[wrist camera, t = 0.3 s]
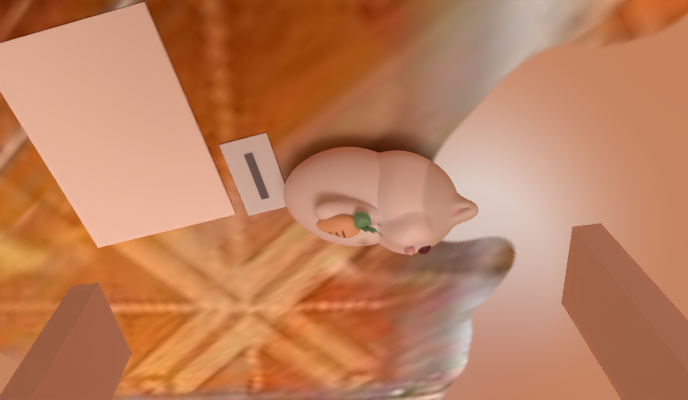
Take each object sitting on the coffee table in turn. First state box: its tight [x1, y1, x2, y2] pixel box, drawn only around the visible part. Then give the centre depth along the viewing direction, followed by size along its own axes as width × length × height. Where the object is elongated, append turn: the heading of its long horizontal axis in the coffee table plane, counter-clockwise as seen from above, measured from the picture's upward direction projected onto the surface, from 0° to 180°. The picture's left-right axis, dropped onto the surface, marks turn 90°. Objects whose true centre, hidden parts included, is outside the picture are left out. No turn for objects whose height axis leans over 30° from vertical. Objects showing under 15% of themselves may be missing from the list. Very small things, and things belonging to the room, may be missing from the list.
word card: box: [219, 132, 286, 216], centre depth 42 cm, size 7×4×1 cm, turn 14°
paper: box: [0, 2, 236, 248], centre depth 40 cm, size 18×13×1 cm
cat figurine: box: [284, 147, 478, 255], centre depth 39 cm, size 10×8×15 cm
